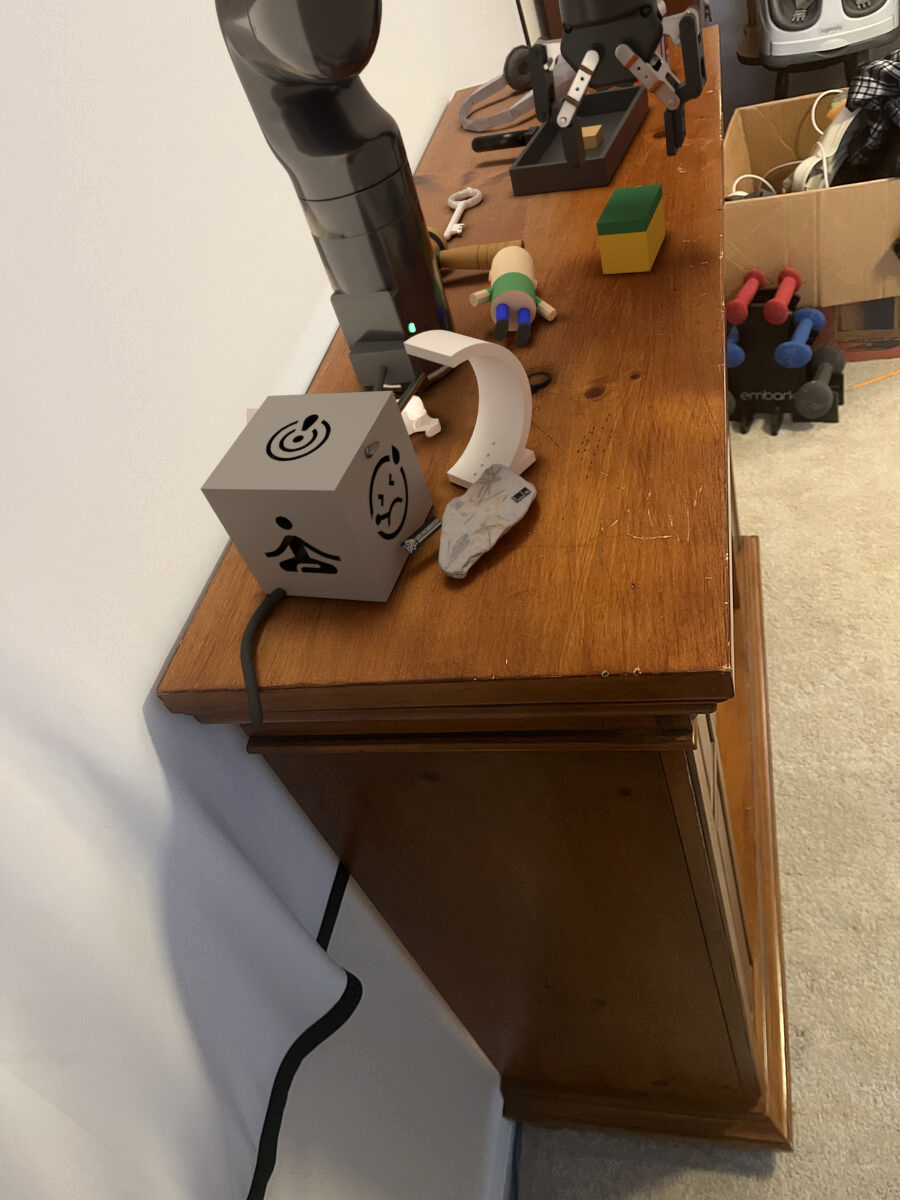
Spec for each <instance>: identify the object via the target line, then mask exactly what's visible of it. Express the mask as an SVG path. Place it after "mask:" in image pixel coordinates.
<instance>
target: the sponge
mask: <svg viewBox="0 0 900 1200" xmlns="http://www.w3.org/2000/svg"><path fill="white" fill-rule="evenodd" d="M665 223H666V221H665V209H664V197H663V184H662V183H656V184H646V185H638V186H637V185H636V186H628V187H618V188H614V190H613V191H612V194H611V196H610V197H609V199H608V201H607V203H606V205H605V206H604V208H603V210H602V212H601V214H600V216H599V218H598V220H597V222H596V231H597V239H598V247H599V253H600V262H601V269H602V274H603V275H614V274H627V273H628V274H629V273H643V272H644V273H645V272H646V273H647V272H650V271H651V270H652V268H653V264H654V263H655V260H656V258H657V256H658V253H659V251H660V248H661V246H662V244H663V242H664V239H665V237H666V235H667V233H666V224H665Z"/></svg>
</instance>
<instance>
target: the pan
mask: <svg viewBox="0 0 900 1200" xmlns="http://www.w3.org/2000/svg"><path fill="white" fill-rule="evenodd" d="M648 93H649V91H648V90H647V89H646V88H645V87H644V86H643V85H642V84H641V85H635V86H630V87H624V88H623V87H616V88H610V89H608V90H606V91H601V92H596V91H592V92H586V93H585V95H584V97H583V100H582V102H581V104H580V106H579V108H578V110H577V112H576V117H579V116H580V120H581V127H582V128H583V127H590V126H597V125H602V130H603V139H602V141H601V142H600V144H599V146H598V148H594V149H586V150H585V155H586V159H585V162H584V164H583V165H582V167H581V168H575V169H573V167H572V162H569V163H568V162H567V161H566V159H565V156H564V150H563V144H562V138H561V132H560V128H559V126H558V125H557V124H556V123H553V122H549V121H547V122H545V123H540V125H539V128H538V130H537V131H536V133H535V134H534V135H533V137H532V138H531V140H530V141H529V142H528V144H527V145H526V146H525V147H523V149H522V150H521V152H520V153H519V155H518V156H517V158H516V159H515V160H514V162H513V163H512V164H511V166H510V167H509V169H508V172H509V177H510V181H511V182H510V183H511V187H512V192H513V196H524V195H533V194H542V193H549V192H560V191H561V192H562V191H570V190H578V189H587V188H596V187H605V186H606V187H607V186H608V184H609V183H610V181H611V179H612V177H613V176H614V174H615V173H616V170H617V168H618V167H619V165H620V163H621V161H622V160H623V157H624V156H625V154H626V152H627V150H628V149H629V146H630V144H631V143H632V141H633V140H634V137H635V136H636V134H637V132H638V130H639V129H640V127H641V124H642V123H643V121H644V119H645V118H646V116H647V114H648V112H649V109H650V106H649V94H648ZM565 99H566V97H561V98H560V99H559V100H558V101H559V102H563V103H564V101H565Z"/></svg>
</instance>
